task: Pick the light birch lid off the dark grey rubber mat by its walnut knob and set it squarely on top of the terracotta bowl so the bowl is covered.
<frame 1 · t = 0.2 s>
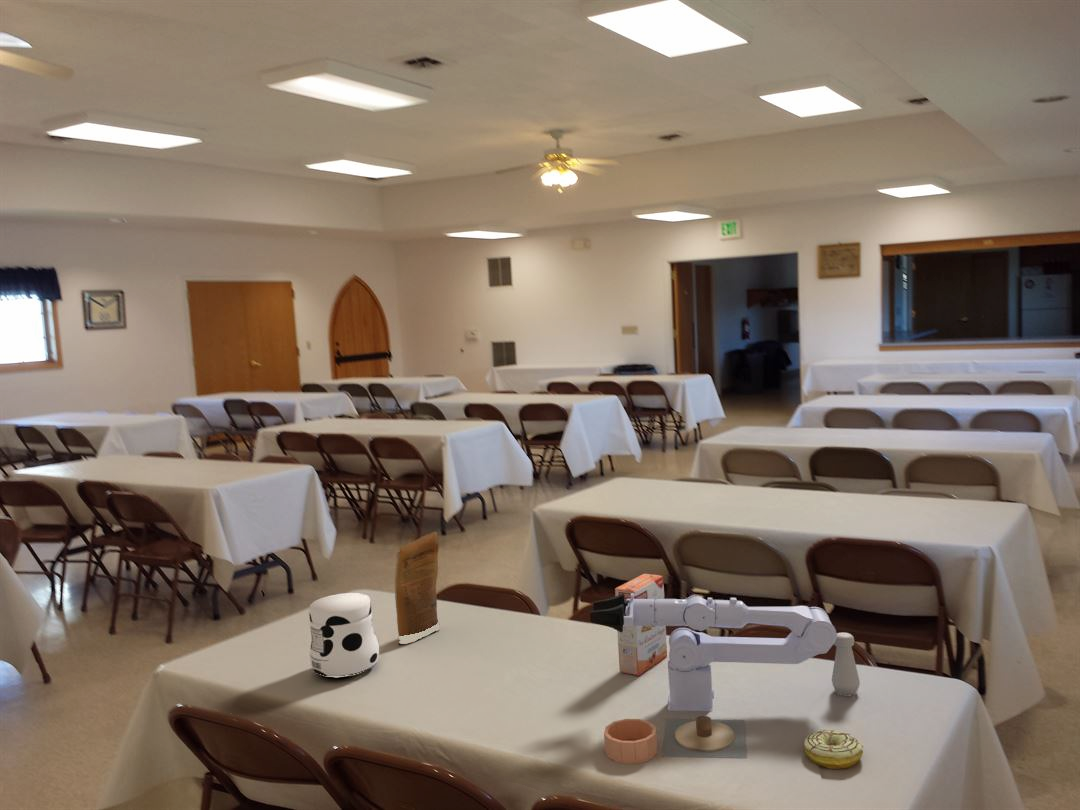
hand: (591, 611, 197), 21 cm above the table, tool horizontal, fingers open, 7 cm apart
mat: (704, 739, 180), on the table
cracker box: (644, 665, 220), on the table
milk container: (346, 671, 231), on the table
decorated donut: (833, 759, 169), on the table
pancake mix bag: (422, 636, 252), on the table
salt shaker: (846, 692, 197), on the table
lid: (704, 737, 180), resting on mat
bowl: (631, 752, 177), on the table
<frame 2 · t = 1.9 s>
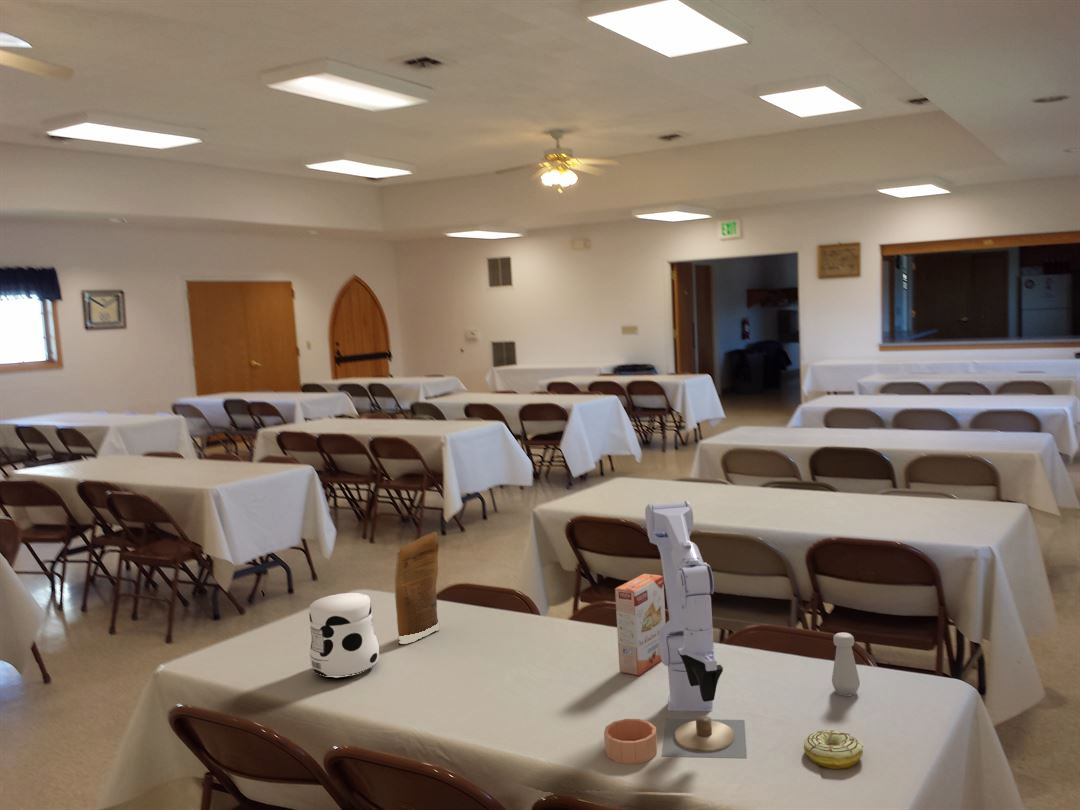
hand: (701, 692, 179), 10 cm above the table, tool pointing down, fingers open, 7 cm apart
nothing on the table moved.
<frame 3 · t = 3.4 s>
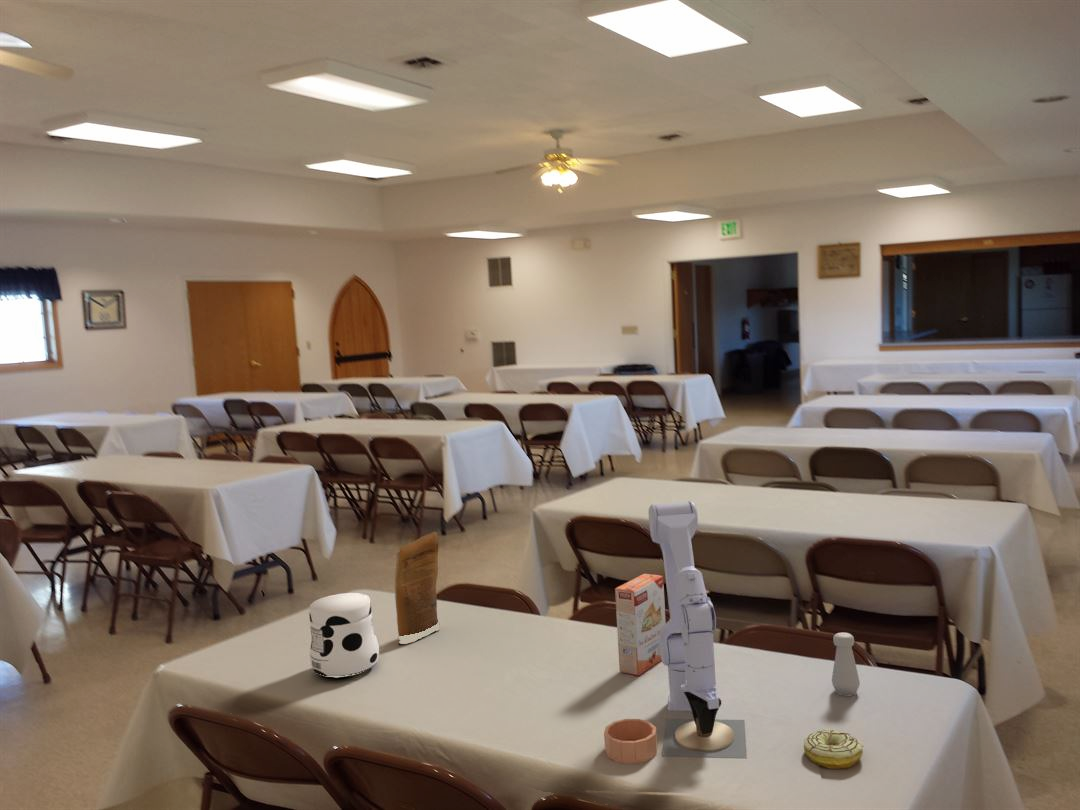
hand: (703, 728, 180), 2 cm above the table, tool pointing down, fingers closed on lid, 3 cm apart
lid: (704, 737, 180), resting on mat, touching gripper
everything else where it was.
when the fingers open (7 cm above the table, at t = 5.9 s): lid stays where it is, resting on bowl.
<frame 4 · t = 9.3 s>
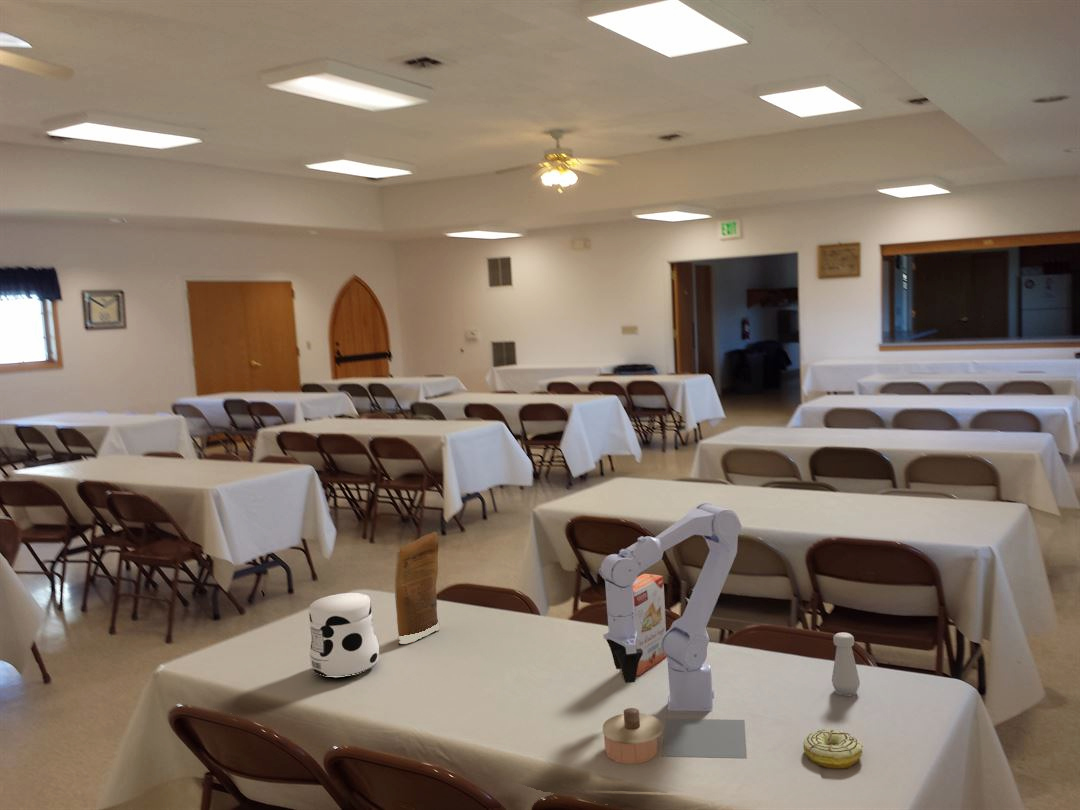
hand: (625, 675, 190), 10 cm above the table, tool pointing down, fingers open, 7 cm apart
lid: (632, 730, 177), point 4 cm above the table, touching bowl
everything else where it was.
at the end: lid 0.5 cm off-centre on the bowl, point 4.5 cm above the bowl's base; lid tilted 0°; the gripper is holding nothing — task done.
